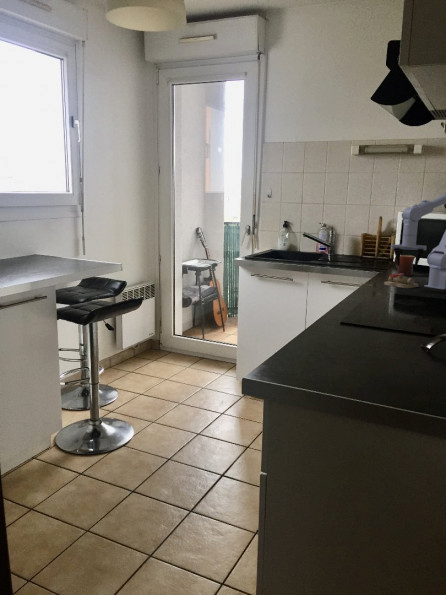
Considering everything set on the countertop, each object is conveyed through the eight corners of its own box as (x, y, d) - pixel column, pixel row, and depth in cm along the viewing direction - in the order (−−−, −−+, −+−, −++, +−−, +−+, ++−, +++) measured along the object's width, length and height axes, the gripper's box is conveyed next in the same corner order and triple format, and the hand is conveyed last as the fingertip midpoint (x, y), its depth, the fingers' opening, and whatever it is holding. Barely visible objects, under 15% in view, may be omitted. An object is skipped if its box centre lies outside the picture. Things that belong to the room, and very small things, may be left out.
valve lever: (401, 275, 232) (401, 272, 232) (404, 276, 231) (405, 273, 231) (389, 277, 227) (390, 274, 227) (393, 277, 225) (394, 274, 225)
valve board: (418, 286, 230) (418, 277, 229) (407, 288, 225) (408, 279, 224) (394, 282, 239) (395, 274, 238) (384, 284, 234) (384, 275, 233)
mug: (417, 276, 261) (418, 256, 258) (404, 277, 257) (406, 257, 255) (400, 272, 271) (401, 254, 269) (387, 273, 268) (389, 254, 266)
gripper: (425, 234, 221) (422, 265, 224) (391, 233, 224) (388, 264, 226) (428, 236, 214) (425, 267, 217) (393, 235, 217) (390, 266, 220)
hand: (406, 265), depth 221 cm, fingers open, 7 cm apart
